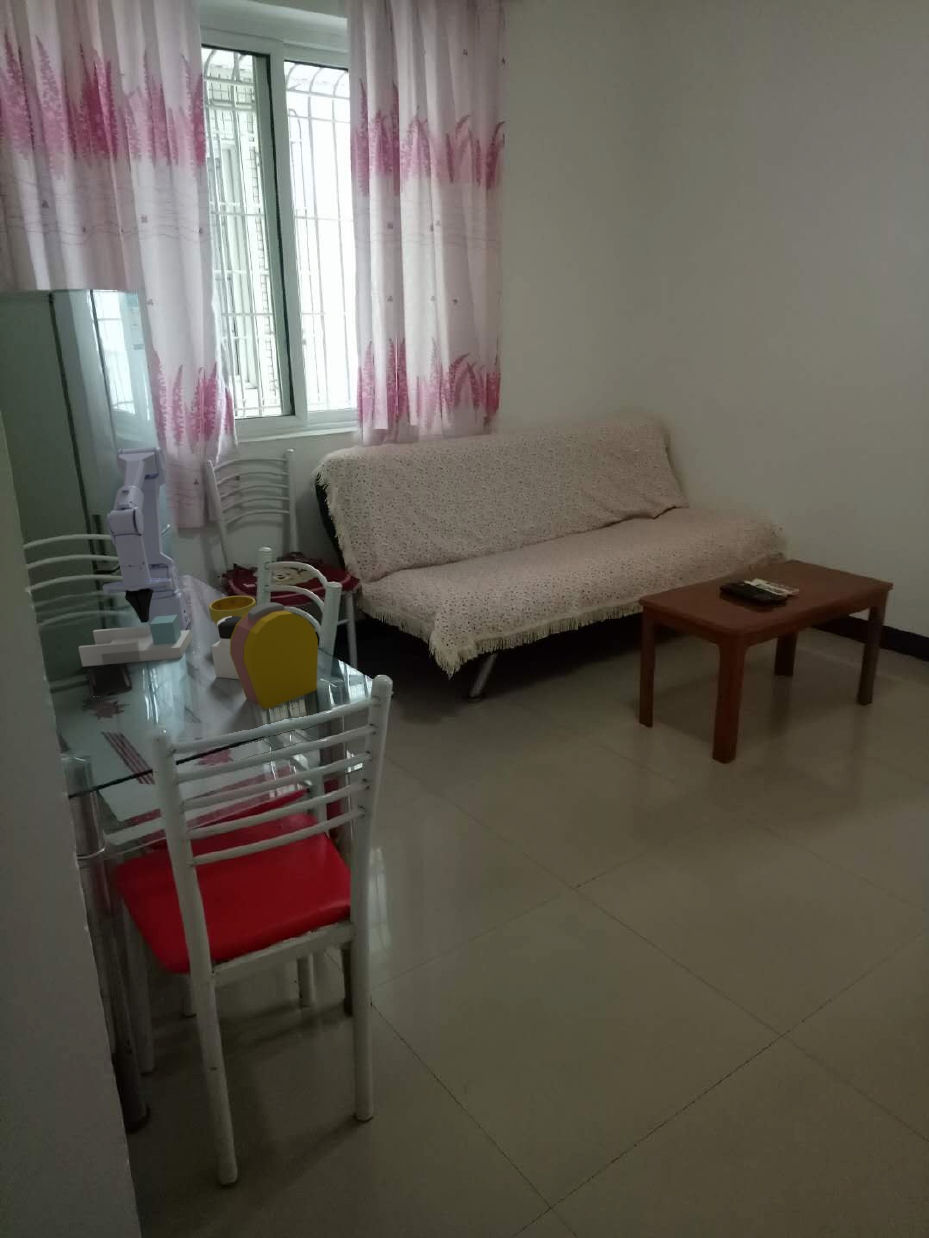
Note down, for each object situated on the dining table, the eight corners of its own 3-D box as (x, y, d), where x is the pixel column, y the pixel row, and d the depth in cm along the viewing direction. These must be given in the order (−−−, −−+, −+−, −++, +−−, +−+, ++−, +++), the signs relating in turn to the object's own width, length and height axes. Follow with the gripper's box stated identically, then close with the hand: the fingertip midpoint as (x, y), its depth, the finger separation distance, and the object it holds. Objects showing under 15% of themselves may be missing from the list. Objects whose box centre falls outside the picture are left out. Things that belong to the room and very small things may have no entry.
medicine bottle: (263, 666, 180) (255, 614, 176) (244, 680, 174) (236, 626, 170) (234, 664, 182) (226, 612, 178) (215, 677, 176) (206, 623, 172)
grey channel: (191, 639, 198) (188, 621, 197) (181, 657, 188) (178, 638, 186) (98, 648, 197) (94, 630, 195) (82, 666, 186) (78, 647, 185)
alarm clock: (301, 676, 174) (289, 591, 168) (323, 686, 168) (312, 600, 162) (236, 700, 165) (221, 612, 159) (258, 712, 159) (243, 621, 153)
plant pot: (263, 646, 192) (257, 605, 188) (216, 654, 189) (209, 613, 185) (259, 631, 201) (253, 592, 197) (214, 638, 198) (207, 599, 195)
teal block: (181, 635, 194) (177, 614, 193) (176, 643, 190) (172, 622, 188) (159, 637, 194) (155, 616, 192) (153, 645, 189) (149, 624, 188)
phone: (124, 662, 185) (132, 686, 173) (125, 667, 186) (133, 691, 173) (86, 670, 182) (91, 695, 169) (87, 675, 183) (92, 700, 170)
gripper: (93, 571, 181) (106, 630, 186) (162, 565, 182) (174, 624, 187) (103, 562, 188) (116, 619, 192) (170, 556, 189) (180, 613, 193)
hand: (145, 621), depth 190 cm, fingers closed
